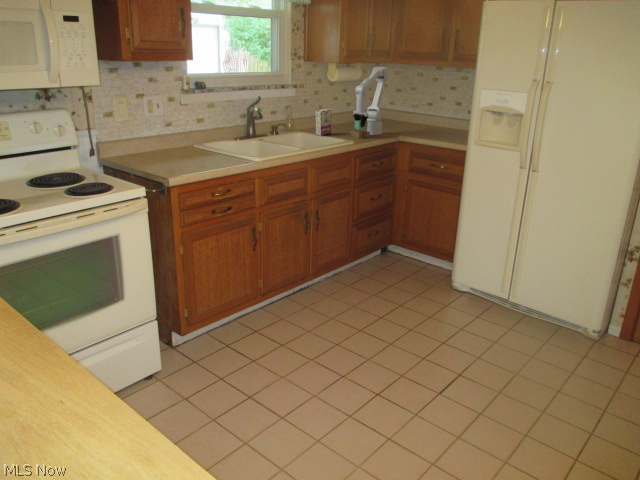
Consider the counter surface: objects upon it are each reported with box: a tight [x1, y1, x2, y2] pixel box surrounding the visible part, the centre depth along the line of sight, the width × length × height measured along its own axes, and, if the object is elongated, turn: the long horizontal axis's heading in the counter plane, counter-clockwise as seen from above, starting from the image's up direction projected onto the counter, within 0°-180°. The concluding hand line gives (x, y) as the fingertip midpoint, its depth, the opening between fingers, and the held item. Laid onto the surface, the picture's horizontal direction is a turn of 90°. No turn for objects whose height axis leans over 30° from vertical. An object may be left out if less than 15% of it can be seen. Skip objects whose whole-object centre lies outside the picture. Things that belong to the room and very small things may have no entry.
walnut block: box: [349, 129, 371, 140], centre depth 348 cm, size 9×9×4 cm
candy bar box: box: [315, 108, 332, 136], centre depth 353 cm, size 11×5×16 cm, turn 143°
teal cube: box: [354, 120, 367, 130], centre depth 346 cm, size 5×5×5 cm
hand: (360, 126), depth 346 cm, fingers closed on teal cube, 5 cm apart
